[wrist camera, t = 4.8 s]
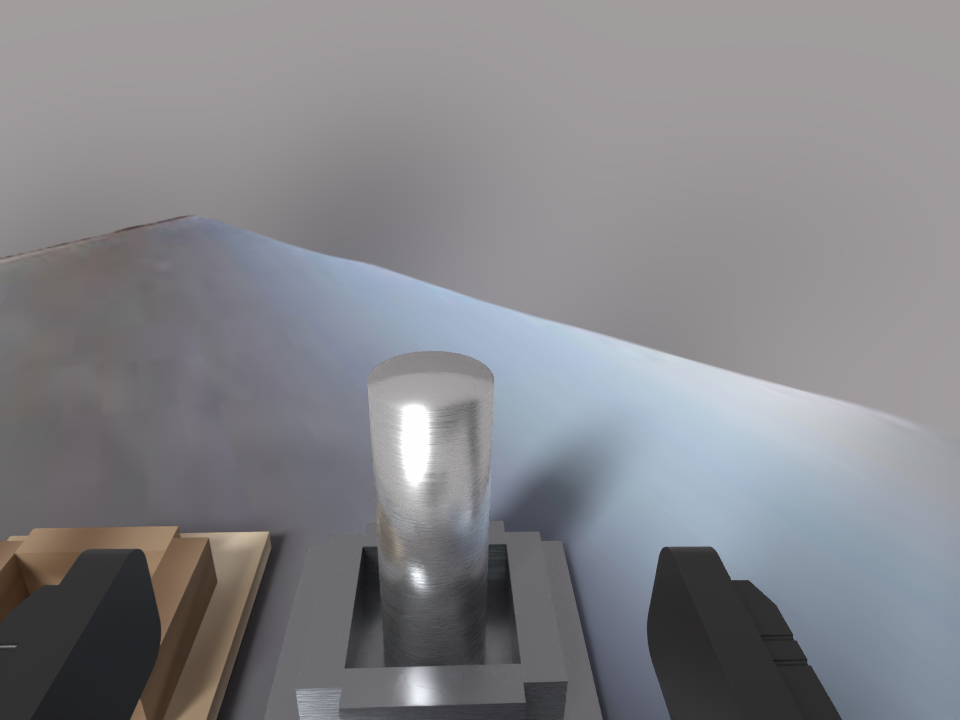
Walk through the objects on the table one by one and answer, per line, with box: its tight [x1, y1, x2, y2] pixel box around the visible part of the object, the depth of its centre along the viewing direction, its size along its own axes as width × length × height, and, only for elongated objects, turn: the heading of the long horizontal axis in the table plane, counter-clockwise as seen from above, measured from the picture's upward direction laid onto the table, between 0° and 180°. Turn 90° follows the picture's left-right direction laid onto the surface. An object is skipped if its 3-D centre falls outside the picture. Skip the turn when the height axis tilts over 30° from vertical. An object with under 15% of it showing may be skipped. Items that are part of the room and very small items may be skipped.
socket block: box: [264, 521, 603, 720], centre depth 27 cm, size 12×12×4 cm
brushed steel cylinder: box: [368, 351, 494, 667], centre depth 25 cm, size 4×4×12 cm
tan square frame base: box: [0, 526, 271, 720], centre depth 26 cm, size 12×14×4 cm
